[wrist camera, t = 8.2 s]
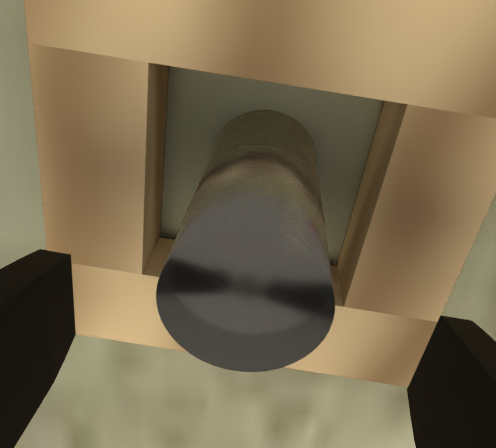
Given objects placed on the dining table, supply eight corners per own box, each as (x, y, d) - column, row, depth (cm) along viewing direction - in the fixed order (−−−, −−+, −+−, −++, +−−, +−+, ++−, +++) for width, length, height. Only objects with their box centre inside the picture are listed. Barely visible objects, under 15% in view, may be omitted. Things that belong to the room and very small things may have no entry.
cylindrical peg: (329, 127, 15) (364, 260, 8) (296, 215, 17) (300, 388, 10) (228, 97, 15) (174, 206, 8) (204, 189, 17) (143, 347, 10)
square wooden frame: (537, -15, 13) (589, -12, 11) (394, 340, 19) (408, 386, 17) (61, -92, 13) (14, -106, 10) (80, 290, 19) (54, 330, 17)
